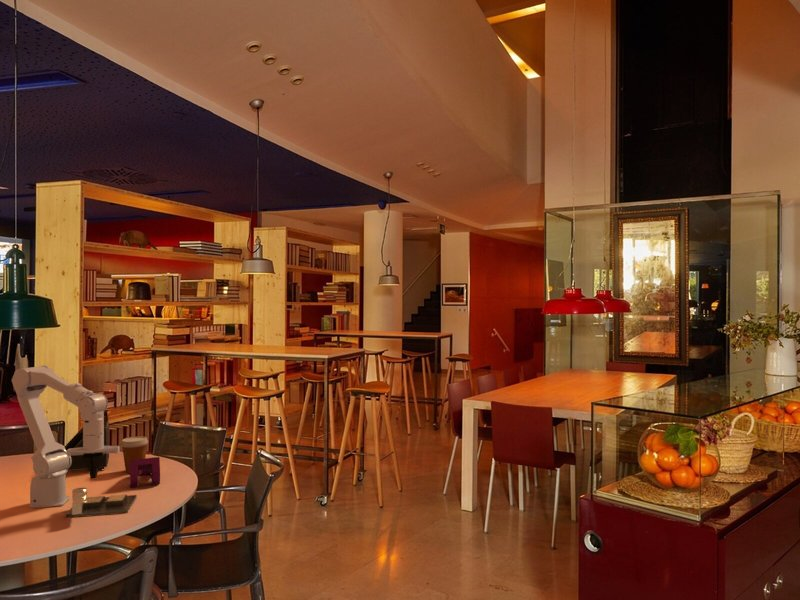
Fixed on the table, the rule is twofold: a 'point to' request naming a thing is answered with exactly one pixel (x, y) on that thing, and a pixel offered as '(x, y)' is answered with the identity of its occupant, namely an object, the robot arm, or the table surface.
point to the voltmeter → (78, 442)
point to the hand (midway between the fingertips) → (93, 477)
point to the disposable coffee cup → (133, 449)
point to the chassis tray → (105, 505)
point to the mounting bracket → (144, 470)
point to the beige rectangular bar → (78, 500)
